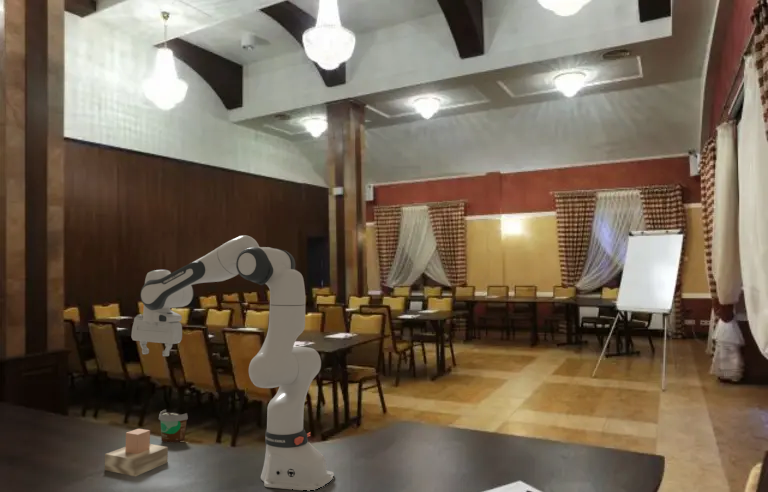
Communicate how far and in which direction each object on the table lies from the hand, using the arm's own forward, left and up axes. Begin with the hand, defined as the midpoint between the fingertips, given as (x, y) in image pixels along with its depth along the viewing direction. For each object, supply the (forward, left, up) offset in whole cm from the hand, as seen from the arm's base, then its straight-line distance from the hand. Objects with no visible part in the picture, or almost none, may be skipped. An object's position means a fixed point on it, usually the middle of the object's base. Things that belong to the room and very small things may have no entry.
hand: (155, 354), depth 188 cm
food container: (+3, -11, -33) cm, 35 cm away
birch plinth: (-7, +13, -33) cm, 36 cm away
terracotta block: (-7, +13, -28) cm, 32 cm away
